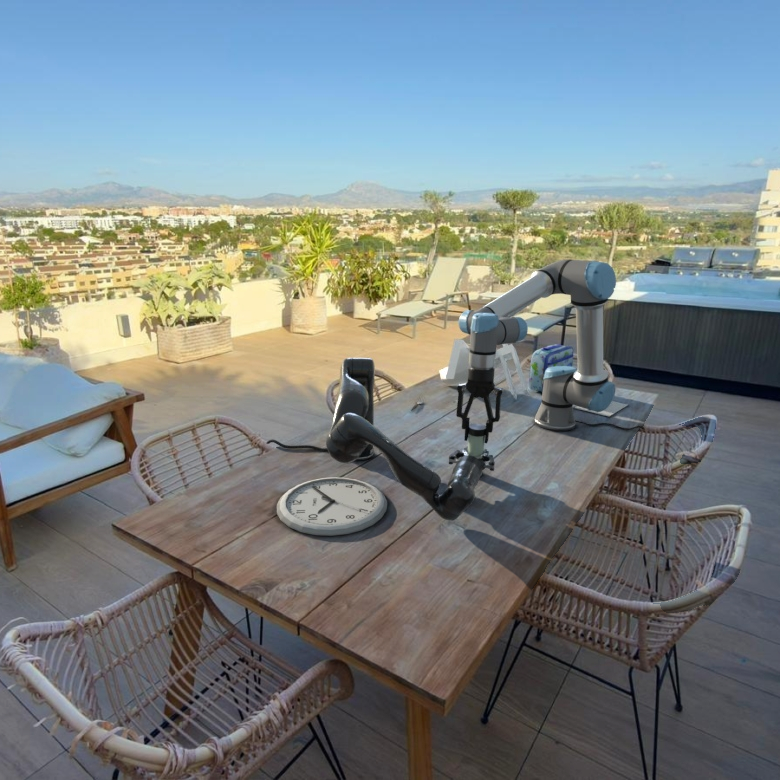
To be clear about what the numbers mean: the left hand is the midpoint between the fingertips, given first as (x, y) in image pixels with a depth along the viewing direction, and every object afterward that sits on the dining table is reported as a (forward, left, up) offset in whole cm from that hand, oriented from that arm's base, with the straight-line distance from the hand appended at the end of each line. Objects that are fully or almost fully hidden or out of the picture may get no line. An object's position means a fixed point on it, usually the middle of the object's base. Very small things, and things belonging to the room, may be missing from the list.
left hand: (476, 450), depth 163 cm
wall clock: (-33, -36, -7) cm, 49 cm away
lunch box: (+18, +100, -7) cm, 102 cm away
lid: (0, -3, +9) cm, 9 cm away
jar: (0, -3, -7) cm, 7 cm away
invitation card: (+40, +81, -7) cm, 91 cm away
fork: (-34, +52, -7) cm, 63 cm away
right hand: (0, -3, +4) cm, 5 cm away
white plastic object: (-13, +82, -7) cm, 83 cm away
